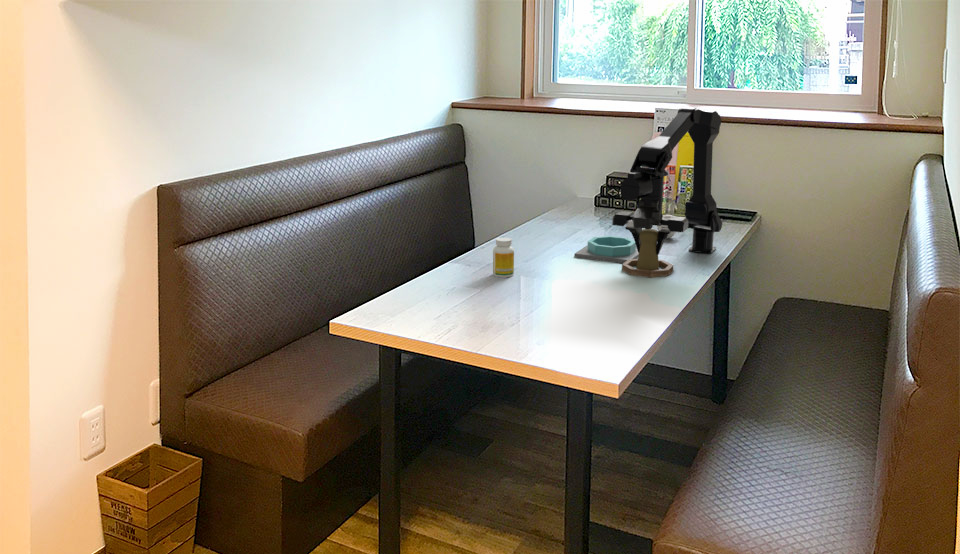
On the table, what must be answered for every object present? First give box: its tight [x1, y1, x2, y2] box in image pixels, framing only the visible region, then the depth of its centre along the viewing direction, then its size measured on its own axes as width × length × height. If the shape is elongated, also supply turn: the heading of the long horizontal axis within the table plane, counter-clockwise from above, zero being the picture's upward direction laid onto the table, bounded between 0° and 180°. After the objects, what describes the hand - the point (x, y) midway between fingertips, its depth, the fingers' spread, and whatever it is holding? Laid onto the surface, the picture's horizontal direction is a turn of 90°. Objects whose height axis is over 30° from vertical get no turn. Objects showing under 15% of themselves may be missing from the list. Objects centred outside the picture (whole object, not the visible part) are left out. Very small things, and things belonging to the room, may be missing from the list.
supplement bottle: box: [492, 237, 515, 279], centre depth 231 cm, size 5×5×10 cm
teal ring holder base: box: [573, 235, 639, 264], centre depth 252 cm, size 16×16×4 cm
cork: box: [635, 228, 660, 270], centre depth 235 cm, size 6×6×11 cm
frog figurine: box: [656, 214, 676, 240], centre depth 269 cm, size 6×7×7 cm
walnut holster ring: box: [621, 258, 675, 278], centre depth 236 cm, size 12×12×2 cm
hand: (648, 253), depth 235 cm, fingers closed on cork, 4 cm apart
